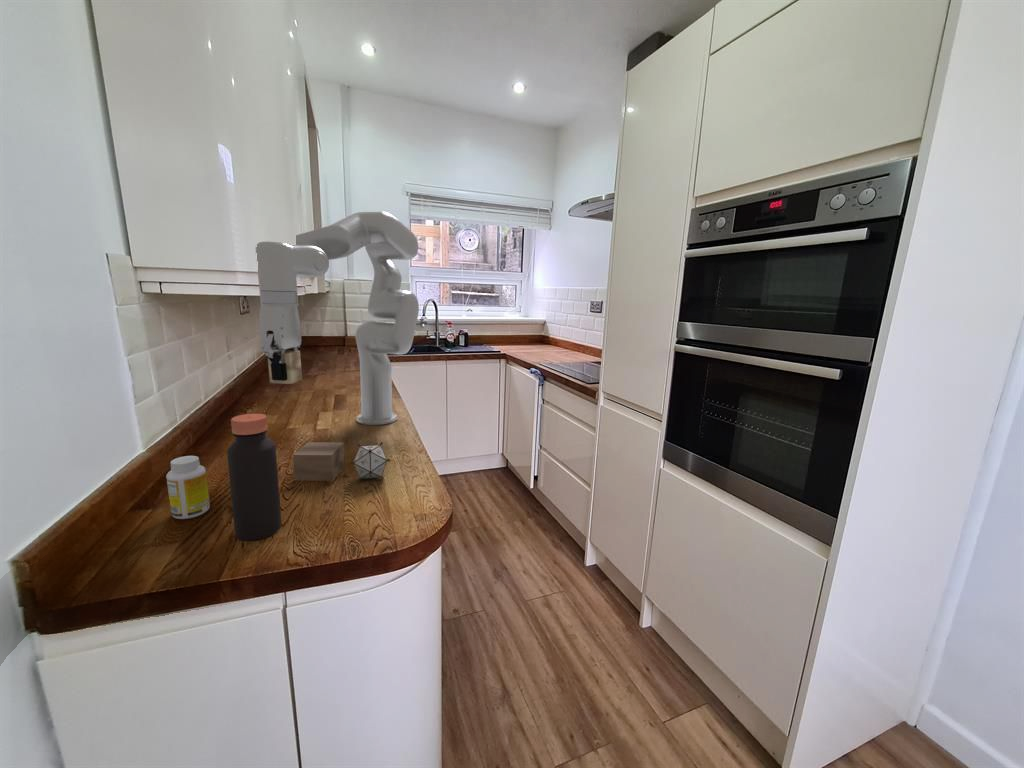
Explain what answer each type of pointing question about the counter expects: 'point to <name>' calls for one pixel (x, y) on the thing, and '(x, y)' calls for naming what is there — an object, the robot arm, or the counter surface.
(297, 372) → the pale wooden block
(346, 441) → the counter surface
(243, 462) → the water bottle
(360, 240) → the robot arm
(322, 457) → the walnut block
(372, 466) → the game die
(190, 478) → the supplement bottle
